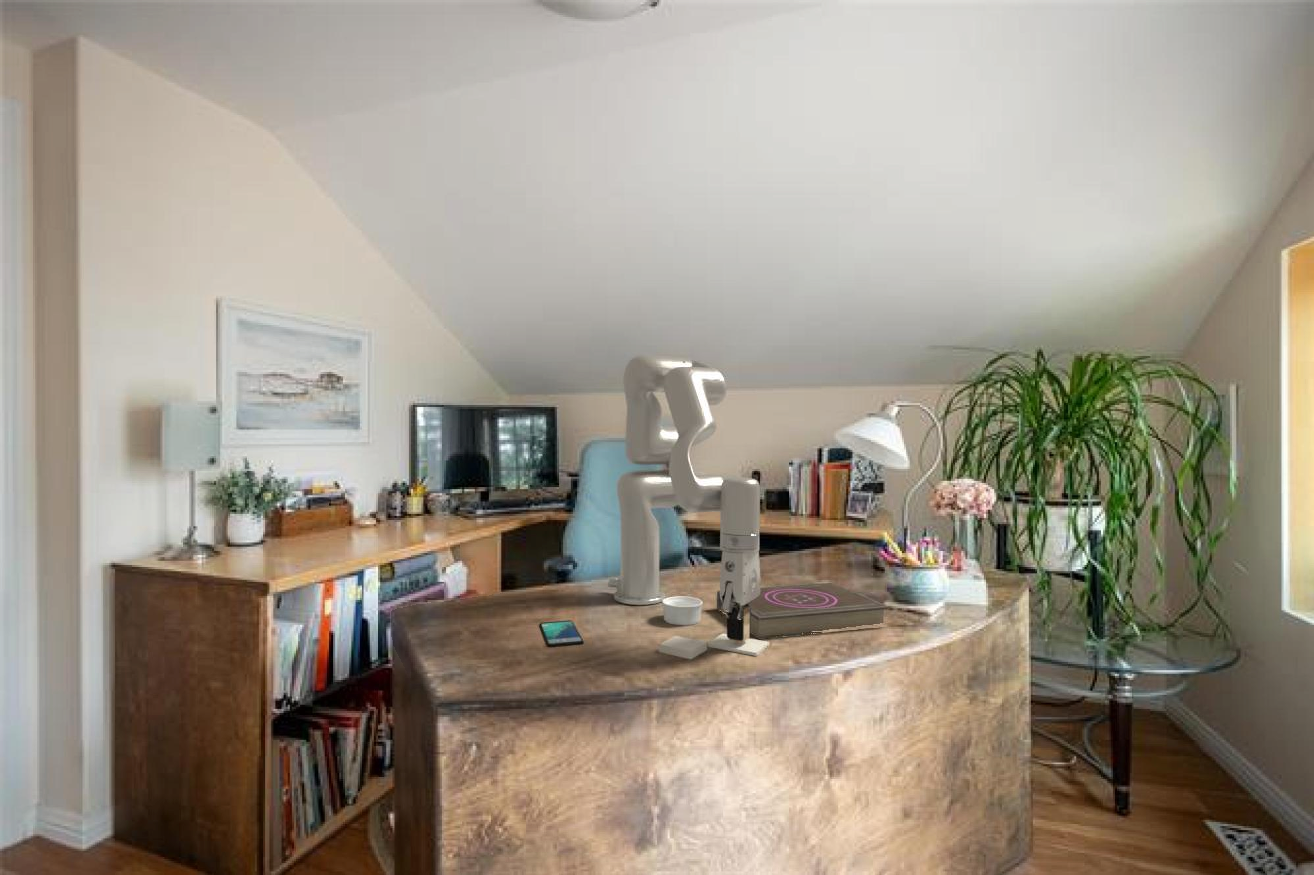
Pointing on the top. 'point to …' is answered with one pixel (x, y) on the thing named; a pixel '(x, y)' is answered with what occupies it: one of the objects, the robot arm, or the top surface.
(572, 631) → the smartphone
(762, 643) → the mat
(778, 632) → the book
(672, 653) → the tile
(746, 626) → the small cardboard box
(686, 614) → the ramekin
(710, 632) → the top surface
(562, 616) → the top surface
